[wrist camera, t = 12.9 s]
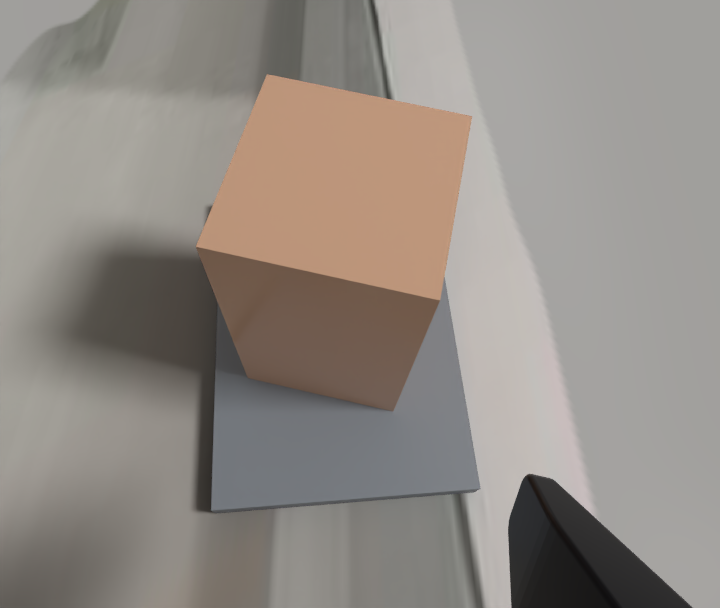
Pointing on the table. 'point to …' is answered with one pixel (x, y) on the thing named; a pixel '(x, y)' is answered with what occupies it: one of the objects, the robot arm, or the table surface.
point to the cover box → (334, 237)
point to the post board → (341, 435)
